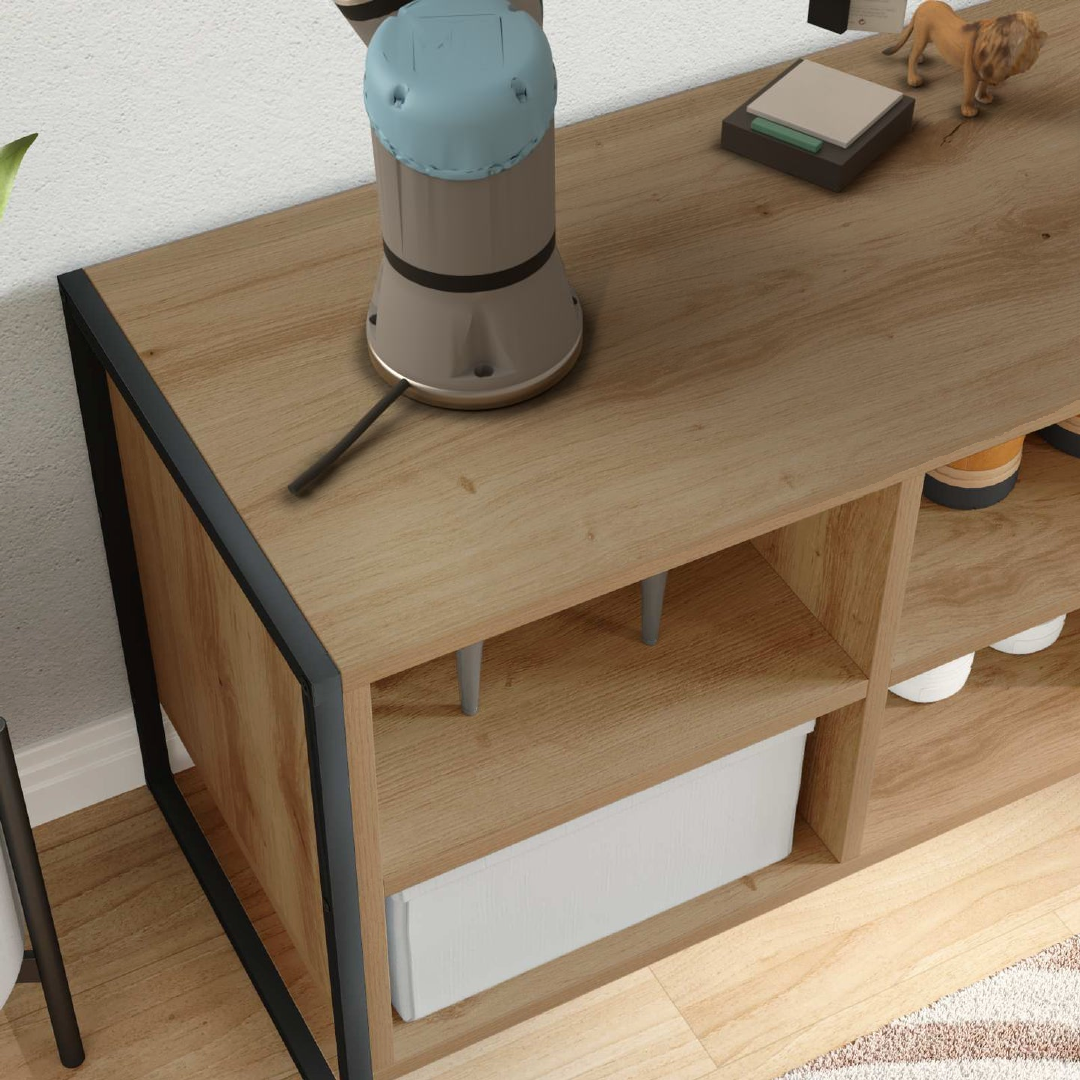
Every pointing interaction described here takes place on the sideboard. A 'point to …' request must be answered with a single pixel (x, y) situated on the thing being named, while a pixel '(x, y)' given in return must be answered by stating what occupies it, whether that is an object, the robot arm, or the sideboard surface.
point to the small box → (877, 16)
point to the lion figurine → (974, 47)
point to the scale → (818, 124)
